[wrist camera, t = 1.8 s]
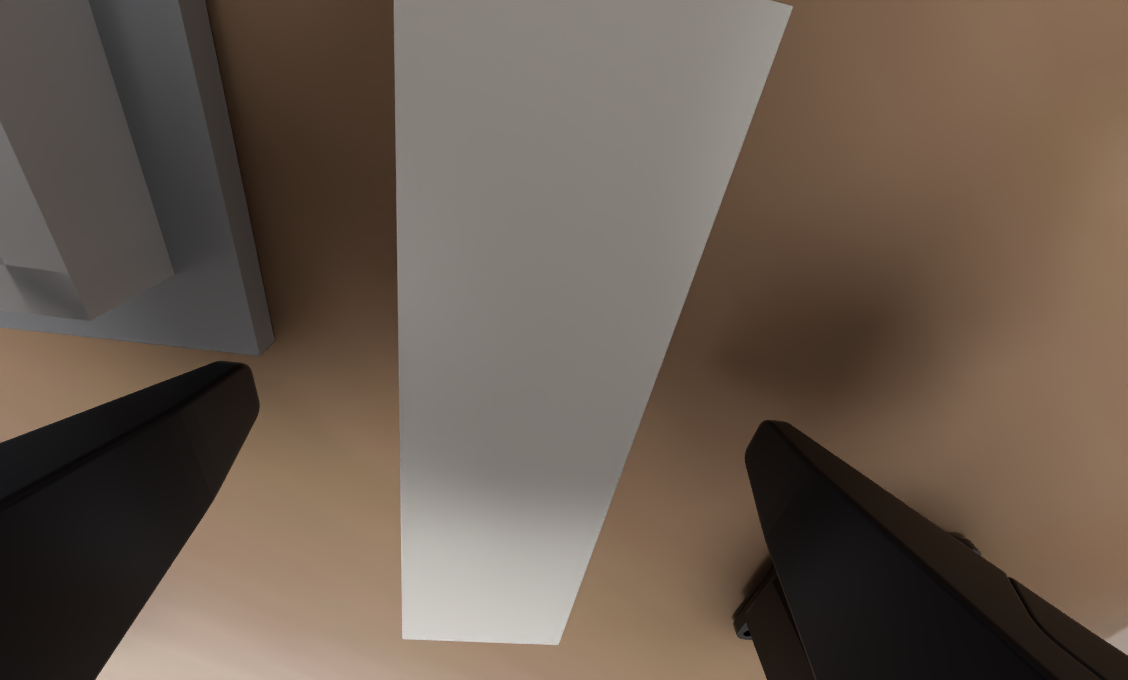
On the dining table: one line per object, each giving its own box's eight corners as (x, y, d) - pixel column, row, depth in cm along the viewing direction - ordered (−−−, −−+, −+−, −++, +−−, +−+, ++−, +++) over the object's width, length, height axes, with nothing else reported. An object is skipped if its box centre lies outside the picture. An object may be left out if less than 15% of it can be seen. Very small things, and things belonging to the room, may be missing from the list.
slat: (675, 37, 7) (793, 6, 4) (553, 500, 13) (558, 645, 10) (466, -13, 7) (392, -99, 3) (438, 490, 13) (402, 639, 10)
